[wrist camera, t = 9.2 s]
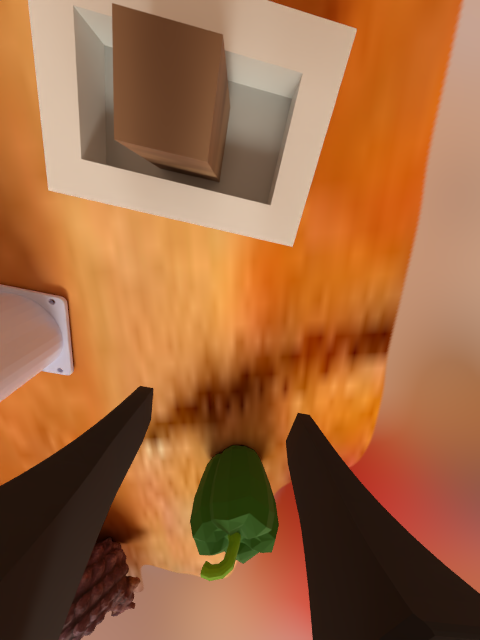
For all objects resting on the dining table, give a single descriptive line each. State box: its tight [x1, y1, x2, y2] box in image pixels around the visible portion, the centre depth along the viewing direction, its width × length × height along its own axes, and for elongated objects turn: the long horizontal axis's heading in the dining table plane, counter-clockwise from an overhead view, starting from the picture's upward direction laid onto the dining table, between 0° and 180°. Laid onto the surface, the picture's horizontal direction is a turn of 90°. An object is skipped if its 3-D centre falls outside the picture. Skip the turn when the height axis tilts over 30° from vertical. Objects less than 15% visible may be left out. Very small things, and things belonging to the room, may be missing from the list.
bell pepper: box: [190, 445, 279, 581], centre depth 23 cm, size 8×8×10 cm
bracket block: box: [112, 3, 230, 182], centre depth 12 cm, size 4×4×6 cm
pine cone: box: [58, 537, 140, 640], centre depth 30 cm, size 18×10×10 cm, turn 61°
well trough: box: [28, 0, 357, 247], centre depth 13 cm, size 15×10×3 cm, turn 78°
